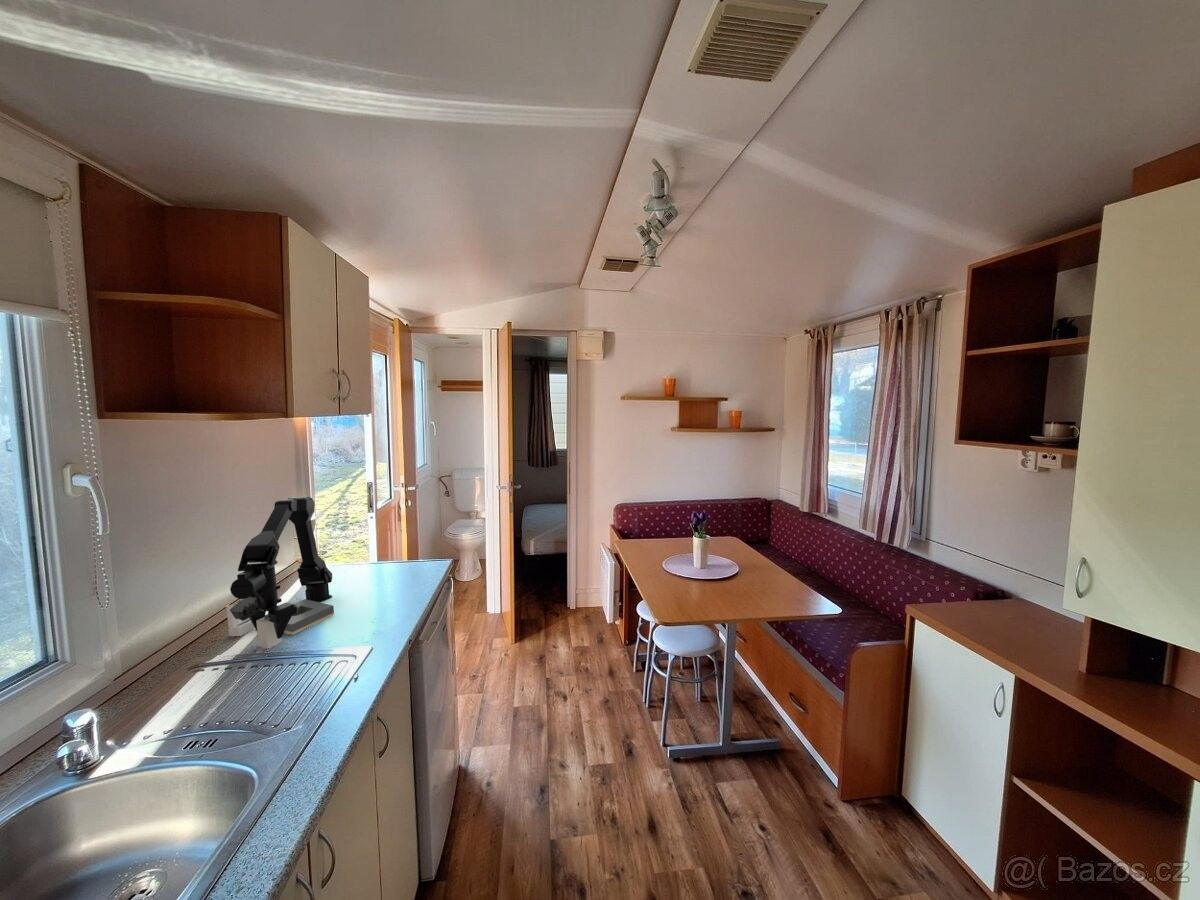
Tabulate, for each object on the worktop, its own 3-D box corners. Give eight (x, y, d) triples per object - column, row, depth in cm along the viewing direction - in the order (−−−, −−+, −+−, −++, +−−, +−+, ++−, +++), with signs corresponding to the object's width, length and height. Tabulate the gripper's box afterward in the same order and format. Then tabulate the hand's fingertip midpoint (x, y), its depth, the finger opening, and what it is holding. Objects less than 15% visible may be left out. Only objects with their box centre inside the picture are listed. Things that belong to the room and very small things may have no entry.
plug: (273, 640, 141) (270, 611, 140) (281, 642, 139) (278, 613, 138) (259, 646, 137) (255, 617, 136) (267, 649, 135) (264, 619, 134)
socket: (305, 608, 161) (304, 599, 161) (334, 615, 156) (333, 605, 156) (263, 627, 149) (262, 617, 148) (292, 635, 143) (291, 624, 143)
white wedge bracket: (214, 635, 139) (226, 604, 142) (243, 636, 148) (254, 607, 151) (224, 636, 138) (236, 605, 142) (253, 637, 147) (263, 608, 151)
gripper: (213, 590, 132) (219, 642, 134) (255, 600, 125) (261, 655, 127) (254, 576, 142) (260, 625, 144) (296, 584, 135) (301, 636, 137)
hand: (269, 635), depth 138 cm, fingers open, 9 cm apart
